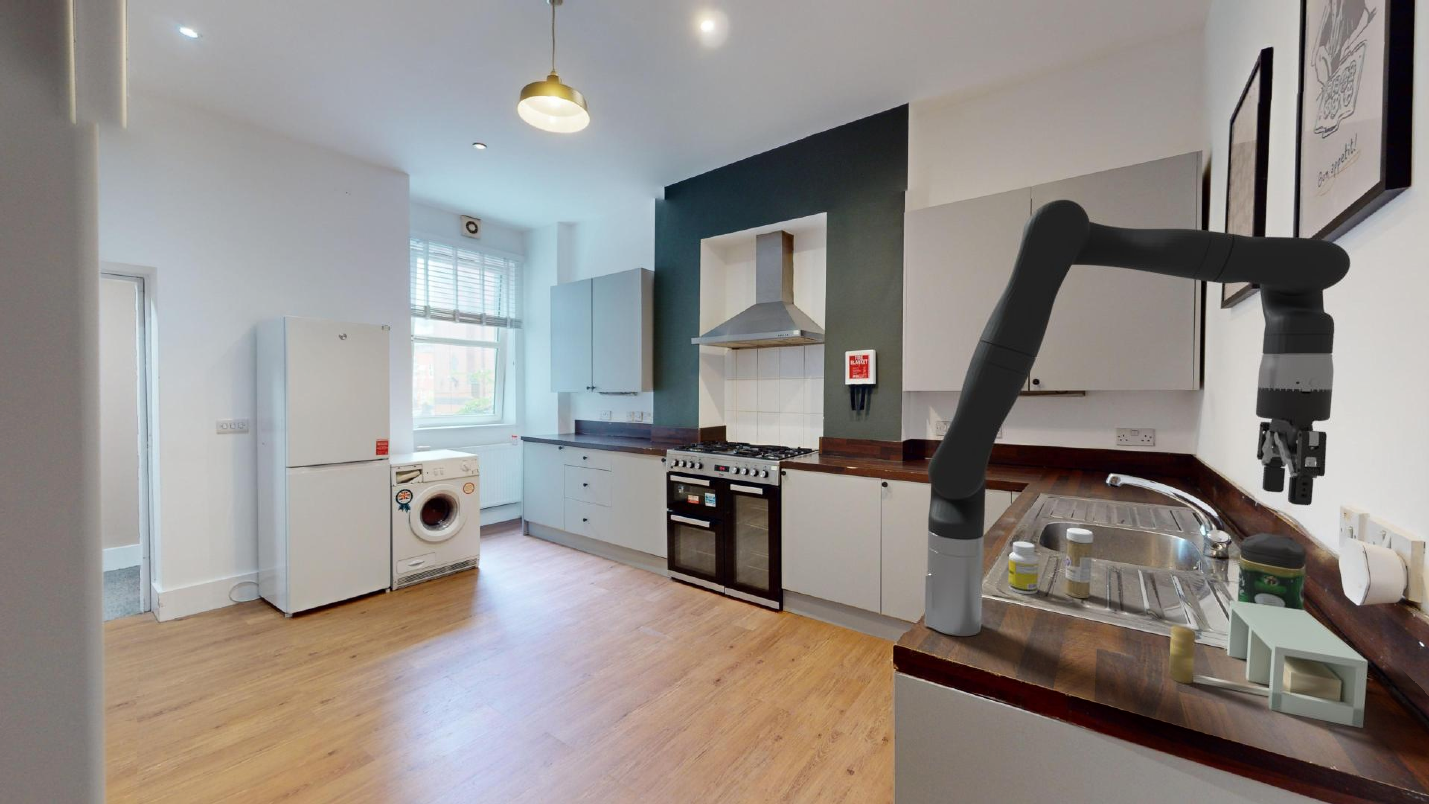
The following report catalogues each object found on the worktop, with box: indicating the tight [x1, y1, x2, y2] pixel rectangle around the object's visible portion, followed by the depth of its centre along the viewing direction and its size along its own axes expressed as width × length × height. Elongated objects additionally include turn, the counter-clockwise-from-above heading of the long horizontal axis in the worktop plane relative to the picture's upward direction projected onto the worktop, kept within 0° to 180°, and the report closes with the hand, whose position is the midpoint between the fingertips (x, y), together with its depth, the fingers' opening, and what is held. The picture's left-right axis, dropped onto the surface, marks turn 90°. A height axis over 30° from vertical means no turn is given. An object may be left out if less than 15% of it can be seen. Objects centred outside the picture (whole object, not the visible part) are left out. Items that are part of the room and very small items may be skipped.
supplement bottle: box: [1008, 541, 1039, 595], centre depth 120 cm, size 5×5×10 cm
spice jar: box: [1063, 527, 1094, 599], centre depth 118 cm, size 5×5×14 cm
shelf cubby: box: [1226, 600, 1369, 729], centre depth 84 cm, size 9×17×9 cm, turn 154°
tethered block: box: [1168, 625, 1341, 702], centre depth 83 cm, size 18×5×8 cm, turn 64°
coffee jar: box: [1237, 532, 1307, 610], centre depth 96 cm, size 10×8×19 cm
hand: (1285, 497), depth 83 cm, fingers open, 8 cm apart
